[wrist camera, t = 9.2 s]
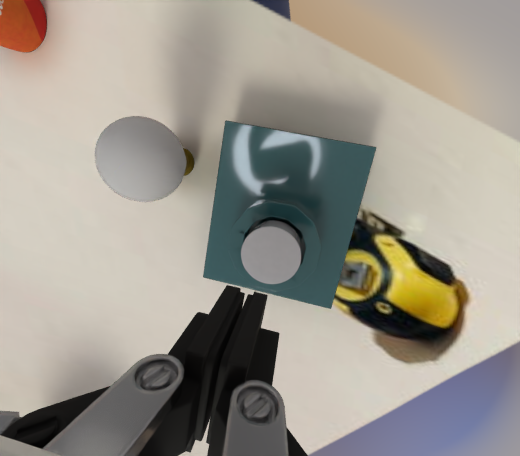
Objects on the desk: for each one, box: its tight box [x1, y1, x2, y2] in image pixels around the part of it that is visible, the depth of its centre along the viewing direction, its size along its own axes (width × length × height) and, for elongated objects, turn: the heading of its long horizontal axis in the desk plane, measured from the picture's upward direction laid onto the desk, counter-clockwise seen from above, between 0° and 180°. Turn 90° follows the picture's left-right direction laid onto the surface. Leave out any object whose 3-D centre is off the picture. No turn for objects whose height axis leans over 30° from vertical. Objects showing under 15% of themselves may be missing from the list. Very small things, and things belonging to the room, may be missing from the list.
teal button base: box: [203, 121, 376, 309], centre depth 23 cm, size 14×12×5 cm
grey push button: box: [241, 220, 301, 284], centre depth 21 cm, size 4×4×2 cm
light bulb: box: [95, 116, 194, 202], centre depth 21 cm, size 6×6×10 cm
